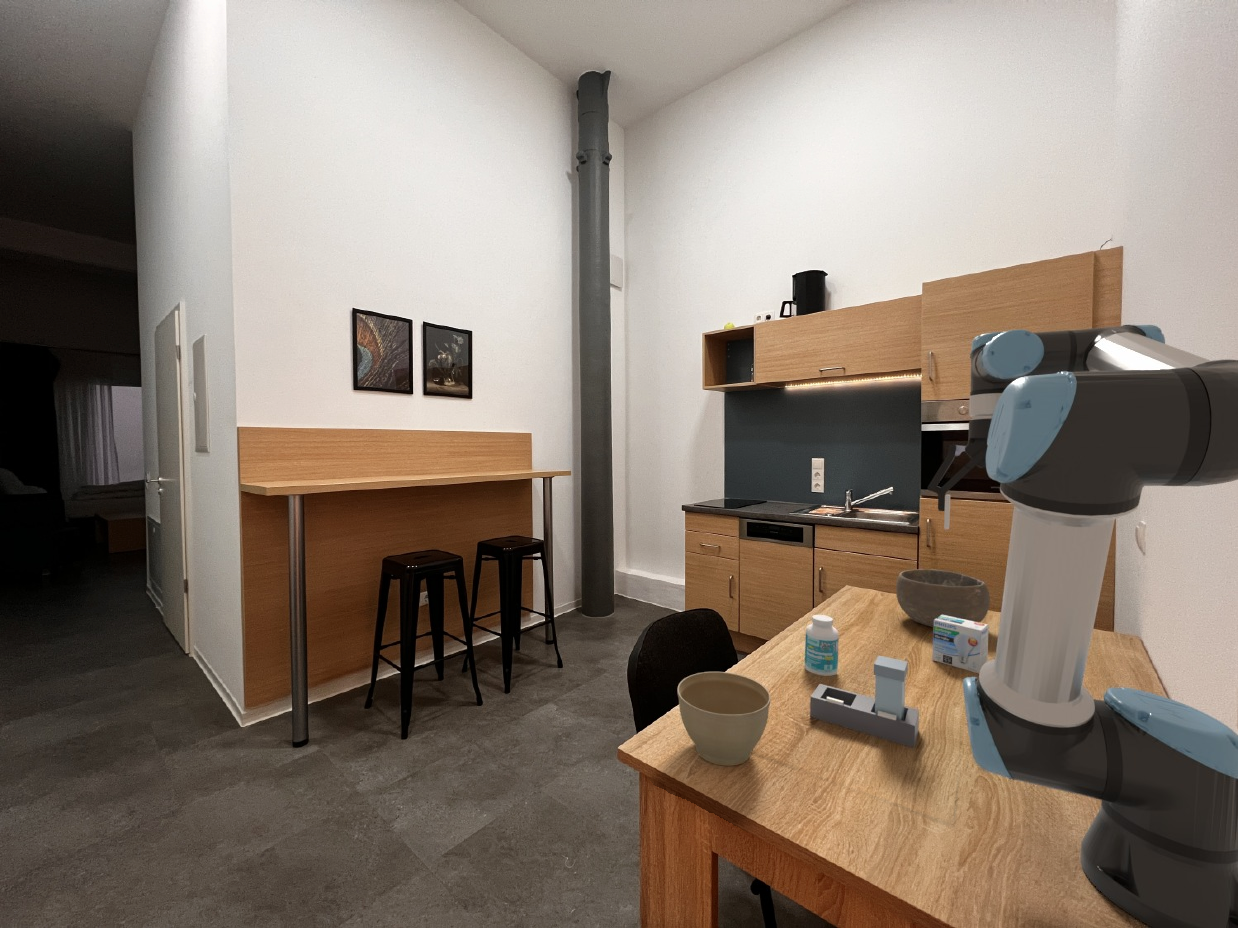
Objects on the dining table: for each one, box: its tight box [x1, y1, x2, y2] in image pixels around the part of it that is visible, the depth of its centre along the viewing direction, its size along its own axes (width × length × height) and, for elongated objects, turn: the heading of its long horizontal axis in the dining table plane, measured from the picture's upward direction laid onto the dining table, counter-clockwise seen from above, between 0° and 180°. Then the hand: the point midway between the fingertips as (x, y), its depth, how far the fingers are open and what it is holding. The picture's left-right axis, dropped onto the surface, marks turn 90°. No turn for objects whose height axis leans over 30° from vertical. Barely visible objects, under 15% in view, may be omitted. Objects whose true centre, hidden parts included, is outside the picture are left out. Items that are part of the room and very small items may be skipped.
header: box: [809, 683, 920, 749], centre depth 100 cm, size 7×18×6 cm, turn 55°
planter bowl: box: [676, 671, 771, 767], centre depth 92 cm, size 16×16×11 cm
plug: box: [873, 655, 909, 721], centre depth 97 cm, size 5×5×13 cm
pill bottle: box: [804, 614, 840, 677], centre depth 124 cm, size 8×7×14 cm
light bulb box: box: [931, 615, 990, 675], centre depth 130 cm, size 11×7×11 cm, turn 42°
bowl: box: [895, 568, 991, 628], centre depth 159 cm, size 24×24×15 cm
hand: (989, 532), depth 96 cm, fingers open, 13 cm apart
